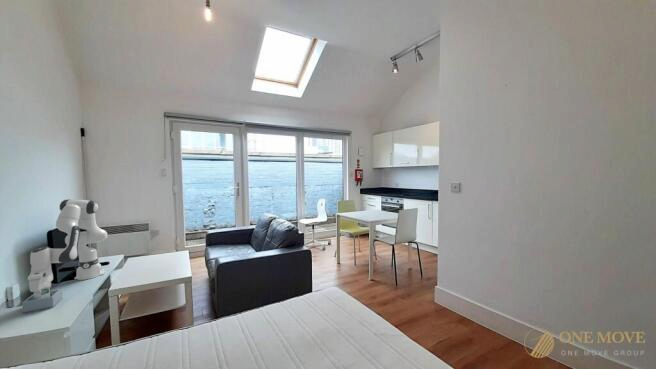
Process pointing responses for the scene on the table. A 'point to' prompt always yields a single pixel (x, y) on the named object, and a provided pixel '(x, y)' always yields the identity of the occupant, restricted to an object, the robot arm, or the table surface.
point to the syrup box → (45, 291)
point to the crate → (42, 302)
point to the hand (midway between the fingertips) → (43, 292)
